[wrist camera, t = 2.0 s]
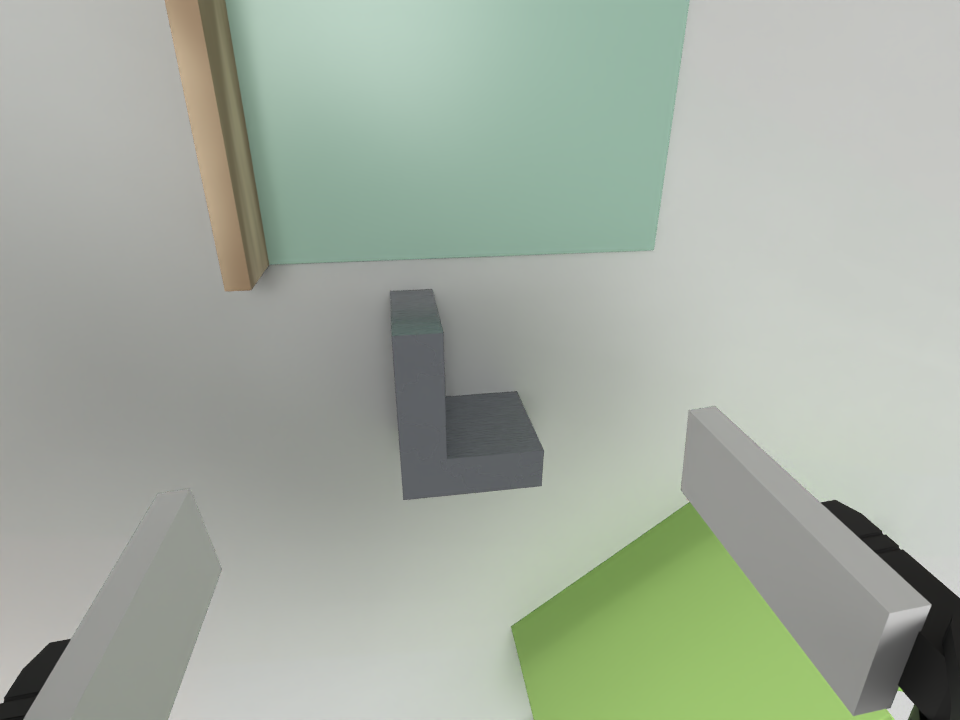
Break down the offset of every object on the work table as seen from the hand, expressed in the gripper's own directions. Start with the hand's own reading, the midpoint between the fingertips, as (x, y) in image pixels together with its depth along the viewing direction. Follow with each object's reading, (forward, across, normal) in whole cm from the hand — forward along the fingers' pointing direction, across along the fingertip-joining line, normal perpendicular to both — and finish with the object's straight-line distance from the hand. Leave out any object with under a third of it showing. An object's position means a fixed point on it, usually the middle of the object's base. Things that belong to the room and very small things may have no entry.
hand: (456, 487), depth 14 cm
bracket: (+20, +2, -6) cm, 21 cm away
